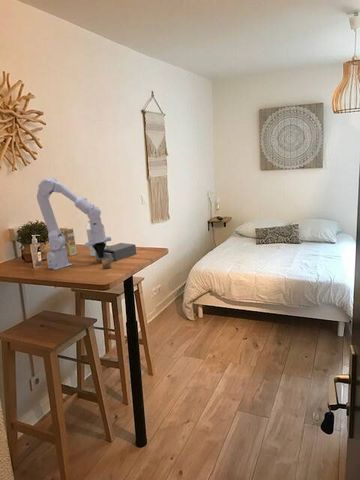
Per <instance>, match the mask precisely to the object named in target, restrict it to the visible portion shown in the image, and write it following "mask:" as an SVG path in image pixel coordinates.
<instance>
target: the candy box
mask: <svg viewBox="0 0 360 480" xmlns="http://www.w3.org/2000/svg"><path fill="white" fill-rule="evenodd" d="M59 230H60V231H61V233H62V235H63V236H64V237H65V239H66V243H65V244H64V245H65V247H66V251H67V256H75V255H78V251H77V245H76V239H75V232H74V228H73V227H69V226H67V227H66V226H65V227H60V228H59Z"/></svg>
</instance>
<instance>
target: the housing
mask: <svg viewBox="0 0 360 480" xmlns="http://www.w3.org/2000/svg"><path fill="white" fill-rule="evenodd" d="M104 252H105V253H109V252H113V255H114V260H113V262H114V261H115V262H116V261H120V260H122V259H126V258H129V257H132V256H135V255H137V246H136V244H134V243H125V242H119V243H115V244H112V245H109V246H107V247H105V248H104Z"/></svg>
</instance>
